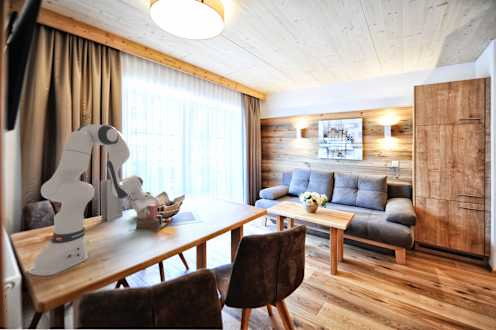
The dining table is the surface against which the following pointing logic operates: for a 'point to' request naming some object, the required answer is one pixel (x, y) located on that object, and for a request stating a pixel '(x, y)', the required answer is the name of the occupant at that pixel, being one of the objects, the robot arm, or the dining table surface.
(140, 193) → the robot arm
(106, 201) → the tall upright panel
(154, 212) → the book
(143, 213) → the reusable coffee cup
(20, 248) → the dining table surface
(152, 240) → the dining table surface
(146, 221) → the shelf
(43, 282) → the dining table surface
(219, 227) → the dining table surface
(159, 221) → the bookend
